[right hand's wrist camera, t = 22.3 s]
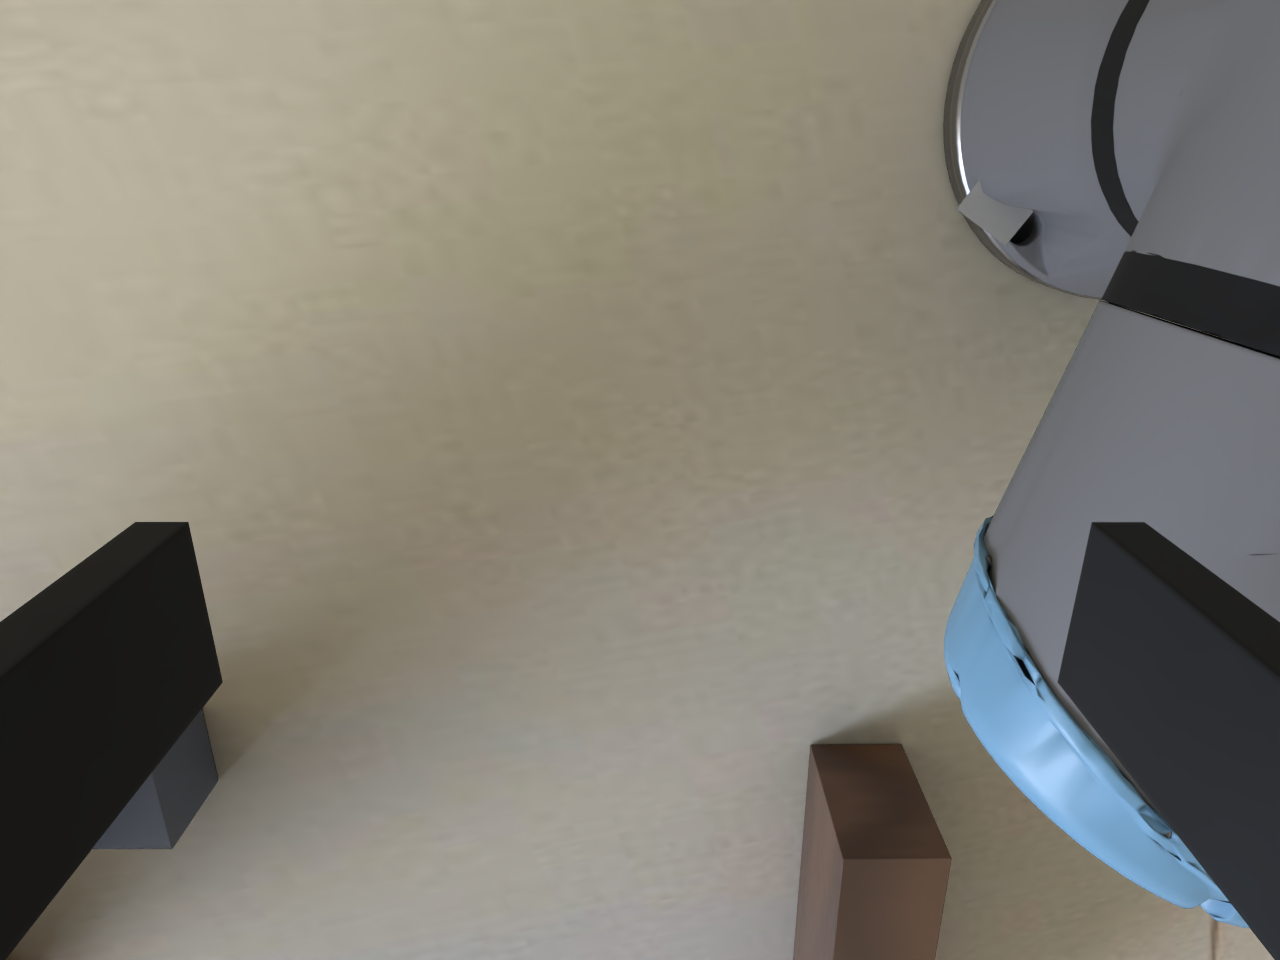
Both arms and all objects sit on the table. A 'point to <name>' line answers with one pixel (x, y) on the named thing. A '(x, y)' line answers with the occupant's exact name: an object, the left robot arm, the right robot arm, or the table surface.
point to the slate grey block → (167, 795)
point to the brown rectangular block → (868, 859)
